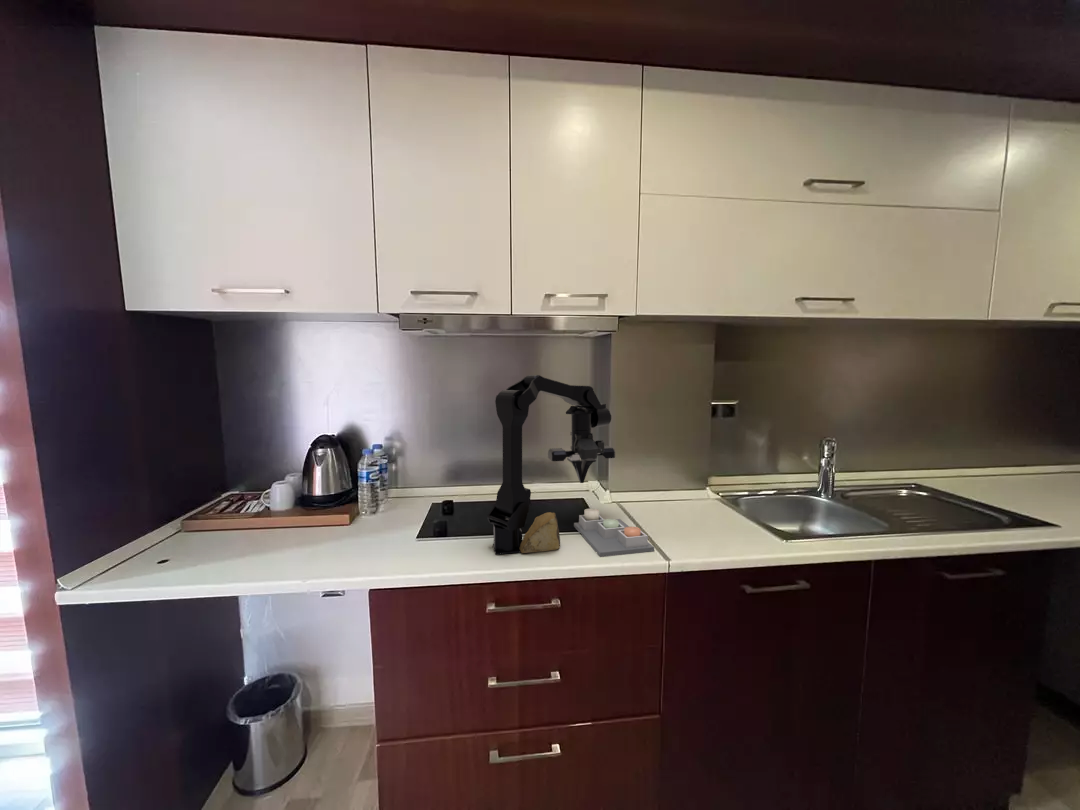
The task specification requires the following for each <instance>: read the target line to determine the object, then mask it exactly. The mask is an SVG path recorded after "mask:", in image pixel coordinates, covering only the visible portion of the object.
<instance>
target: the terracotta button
mask: <svg viewBox="0 0 1080 810" xmlns="http://www.w3.org/2000/svg"><path fill="white" fill-rule="evenodd" d="M641 531H642V530H641V528H639V527H637V526H629V527H626V528H624V534H625V535H626V536H627V537H634V536H641Z"/></svg>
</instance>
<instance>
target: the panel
mask: <svg viewBox="0 0 1080 810" xmlns="http://www.w3.org/2000/svg"><path fill="white" fill-rule="evenodd" d="M604 520H605V518H603V517H602V516H601V515H600V514H599V520H591V521H586V520H585V516H584V514H579V515H578V522H573V528H575V530H577V532H578V533H579V532H580V533H581V534H582V535H581V534H580V533H579V534H580V535H581V536H582V538H584V539H585V541H586V542H587V544H588V545H589V546H590V545H591V546H590V547H591V548H592V549H593V550H594V552H595V553H596V552H597V553H596V554H597V556H598V557H600V558H601V557H602V556H603V557H611V556H619V555H620V556H622V555H631V554H640V553H649V552H650V553H651V552H655V547H654V545H652V544H651V543H650V542H649V540H648V537H649V536H648V535H647V534H646V533H644V532H643V531H642V530H641V536H634V537H627V536H626V535H625V534H624V528H626V527H630V526H629V525H628V524H627V523H625V521H623V520H622V519H621V518H615V520H618V521H619V527H618V528H607V529H606V528H605V527H604V526H603V521H604Z"/></svg>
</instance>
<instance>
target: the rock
mask: <svg viewBox="0 0 1080 810" xmlns="http://www.w3.org/2000/svg"><path fill="white" fill-rule="evenodd" d="M560 547H561V537H560V530H559V525H558V518H557V516H556V512H551V511H550V512H549V511H548V512H545V513H543V514H540V515H538V516H536V517H535V518H534V521H533V523H532V524H531V525H530V527H529V528H528V530H527V532H525V533H524V535H523V536H522V542H521V544H520V548H519V549H520V551H521V552H520V553H521V554H527V553H536V552H549V551H556V550H559V549H560Z"/></svg>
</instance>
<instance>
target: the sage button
mask: <svg viewBox="0 0 1080 810" xmlns="http://www.w3.org/2000/svg"><path fill="white" fill-rule="evenodd" d="M615 519H616V518H615ZM615 519H614V518H606V519H605V518H604V521H603V526H604V527H605V528H606V529H607V528H618V527H619V521H618V520H615Z"/></svg>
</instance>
